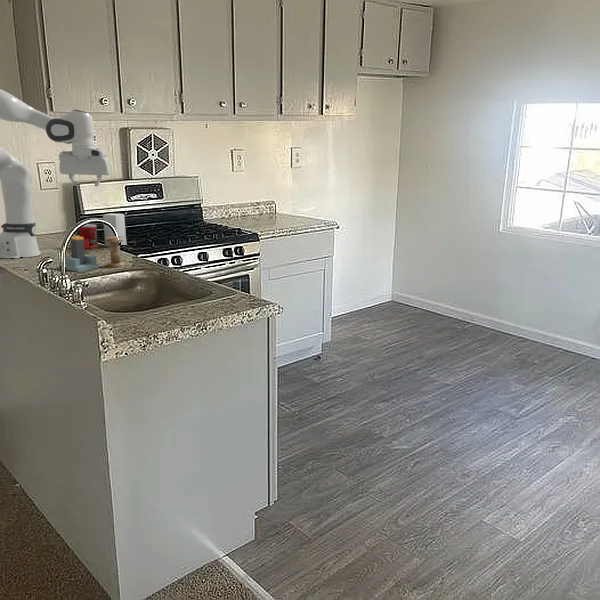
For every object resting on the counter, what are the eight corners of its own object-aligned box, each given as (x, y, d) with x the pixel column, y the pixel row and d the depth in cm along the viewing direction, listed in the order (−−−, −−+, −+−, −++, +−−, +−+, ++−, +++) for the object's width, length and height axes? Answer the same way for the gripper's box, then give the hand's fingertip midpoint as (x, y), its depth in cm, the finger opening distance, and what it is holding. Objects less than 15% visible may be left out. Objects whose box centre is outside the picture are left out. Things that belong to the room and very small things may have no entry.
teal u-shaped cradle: (58, 267, 244) (57, 256, 242) (79, 264, 252) (78, 253, 251) (78, 271, 237) (77, 260, 236) (99, 267, 246) (98, 256, 244)
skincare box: (126, 246, 299) (125, 214, 295) (117, 247, 293) (115, 215, 290) (114, 244, 303) (112, 212, 299) (104, 246, 297) (102, 213, 293)
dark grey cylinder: (72, 264, 244) (70, 237, 241) (79, 263, 247) (77, 236, 244) (77, 265, 242) (76, 238, 239) (85, 264, 245) (83, 237, 242)
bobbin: (104, 267, 248) (102, 238, 245) (110, 263, 254) (108, 236, 252) (121, 267, 247) (120, 239, 245) (127, 264, 254) (125, 237, 251)
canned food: (92, 249, 286) (91, 226, 284) (76, 248, 288) (75, 225, 285) (100, 247, 294) (99, 224, 291) (85, 246, 295) (84, 223, 292)
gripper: (55, 150, 248) (57, 185, 251) (105, 152, 247) (107, 187, 250) (62, 150, 254) (64, 184, 257) (110, 152, 253) (112, 186, 256)
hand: (85, 186), depth 254 cm, fingers open, 8 cm apart
